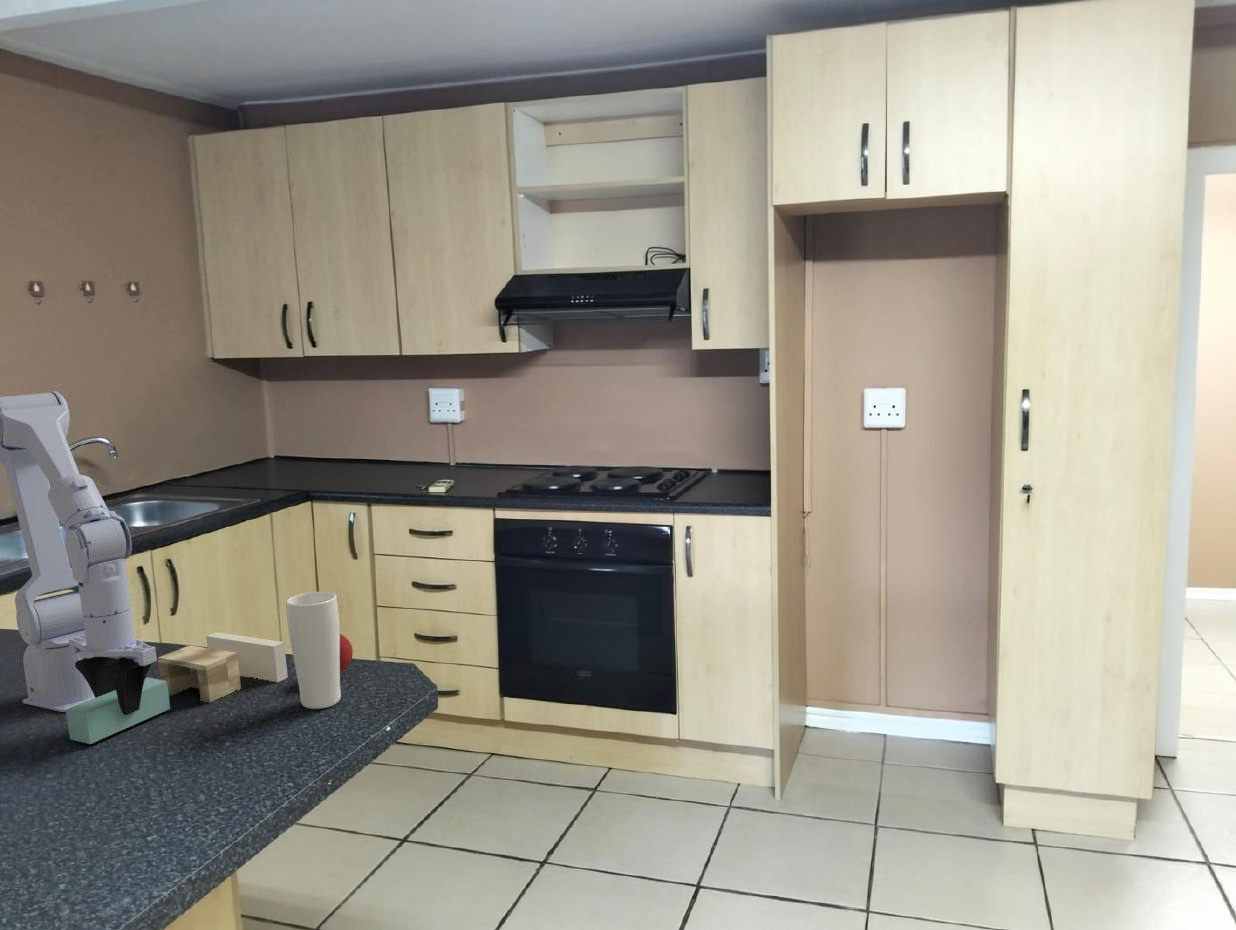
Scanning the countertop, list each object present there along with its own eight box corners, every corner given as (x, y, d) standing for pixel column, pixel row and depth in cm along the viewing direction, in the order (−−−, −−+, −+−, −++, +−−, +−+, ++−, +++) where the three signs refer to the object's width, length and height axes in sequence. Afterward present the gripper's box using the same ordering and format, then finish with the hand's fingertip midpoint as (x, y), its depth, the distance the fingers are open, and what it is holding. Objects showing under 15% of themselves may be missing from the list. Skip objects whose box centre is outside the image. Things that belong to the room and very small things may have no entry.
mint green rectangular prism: (69, 739, 128) (65, 709, 127) (150, 704, 138) (147, 677, 138) (90, 744, 126) (86, 714, 125) (170, 708, 136) (166, 681, 136)
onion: (343, 686, 143) (338, 633, 142) (306, 685, 144) (301, 632, 143) (361, 671, 149) (356, 620, 147) (325, 670, 150) (321, 619, 149)
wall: (210, 670, 152) (206, 636, 151) (220, 666, 154) (216, 632, 153) (277, 682, 146) (273, 646, 145) (287, 677, 148) (284, 642, 147)
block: (162, 694, 143) (157, 657, 142) (193, 680, 148) (189, 645, 147) (210, 703, 139) (206, 665, 138) (241, 689, 144) (237, 652, 143)
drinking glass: (308, 717, 133) (297, 608, 130) (287, 703, 138) (277, 599, 135) (355, 702, 137) (345, 597, 135) (333, 689, 142) (323, 588, 140)
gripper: (42, 614, 129) (56, 713, 131) (116, 625, 123) (129, 729, 125) (91, 599, 136) (104, 693, 138) (165, 609, 129) (176, 708, 131)
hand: (119, 709), depth 132 cm, fingers closed on mint green rectangular prism, 4 cm apart
